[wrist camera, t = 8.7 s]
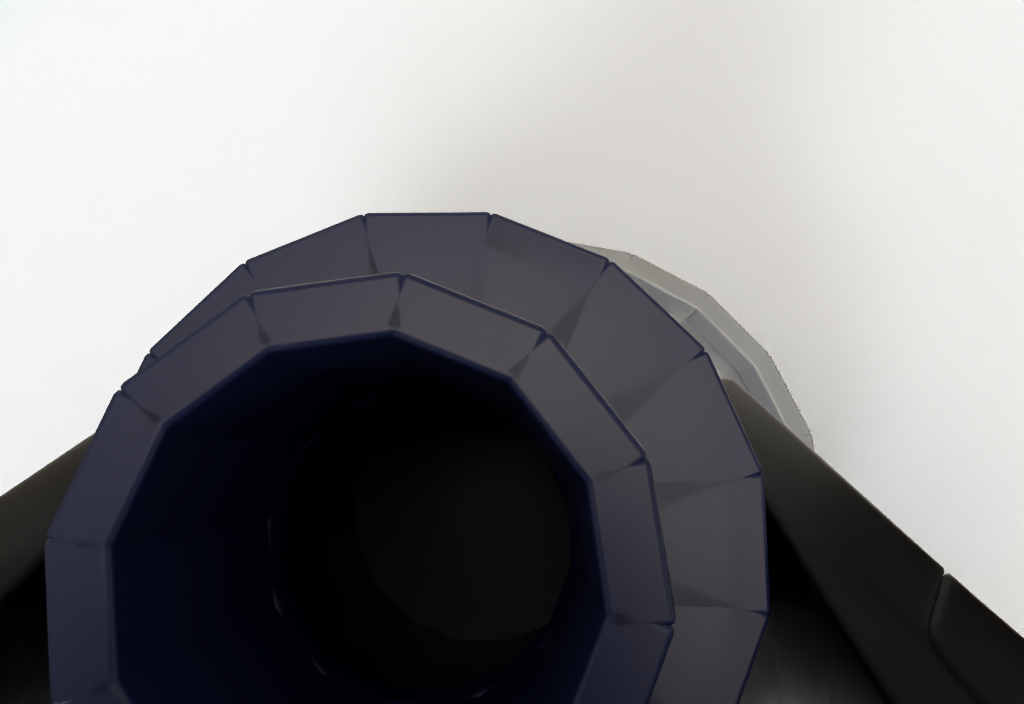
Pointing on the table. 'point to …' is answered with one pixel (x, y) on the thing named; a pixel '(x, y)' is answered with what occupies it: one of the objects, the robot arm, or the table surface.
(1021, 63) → the table surface
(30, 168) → the table surface
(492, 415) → the dark blue vase
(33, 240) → the table surface
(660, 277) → the steel dish
